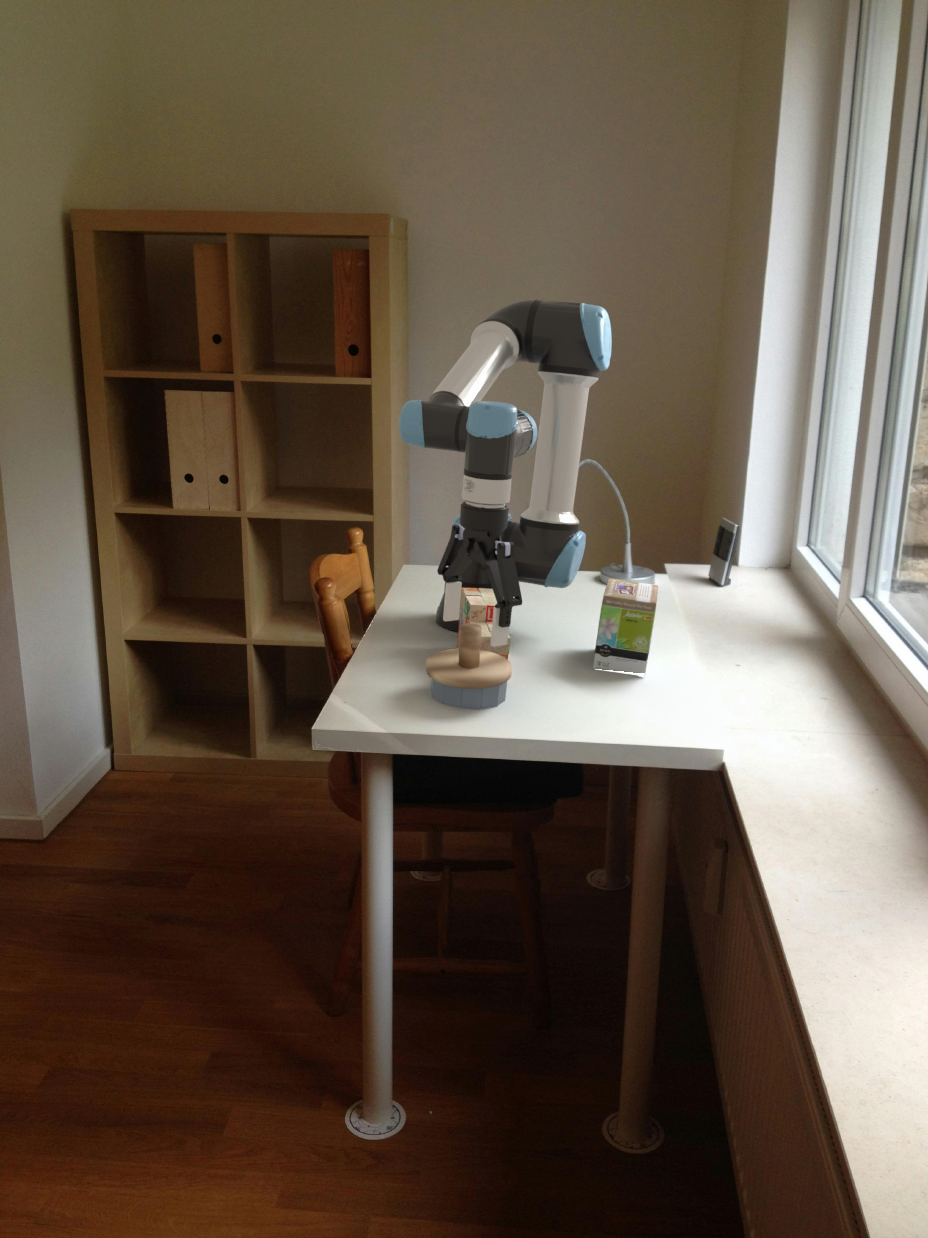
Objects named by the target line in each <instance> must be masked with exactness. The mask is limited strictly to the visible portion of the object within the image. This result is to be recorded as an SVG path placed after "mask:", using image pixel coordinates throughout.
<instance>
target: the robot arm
mask: <svg viewBox="0 0 928 1238" xmlns="http://www.w3.org/2000/svg"><path fill="white" fill-rule="evenodd" d="M612 346H613V345H612V326H611V320H610V316H609V313H608V311H607V310H606V309H605V308H604V307H602V306H600V305H596V304H589V303H585V302H567V301H566V302H565V301H554V300H539V299H523V300H518V301H514V302H512V303H510V304H507V305H504V306H503V307H501V308H498V309H497V310H495V311H493V312H492V313H490V314H489V315H488V316H486V317H484V319H483V320H481V321H480V322H479V323H478V325H477V326H476V327H475V329H474V330H473V332H472V333H471V336H470V344H469V345H468V346H467V348H466V349H465V351H464V352H463V353H462V355H460V357H459V358H458V360H457V361H456V362H455V364H454V365H453V366H452V367H451V369H450V370H449V371H448V373H447V374H446V376H445V377H443V379H442V380H441V382H440V383H439V384H438V386H436V388H435V390H434V391H433V392H432V394H431V395H430V396H429V397H428V398H427V399H426V400H422V399H418V400H416V399H415V400H414V399H412V400H407V401H406V402H405V403H404V405H403V406H402V408H401V411H400V413H399V414H400V415H399V419H398V427H399V429H398V430H399V435H400V438H401V440H402V442H403V443H405V445H409V446H414V447H419V448H423V449H431V450H439V451H449V452H450V451H452V452H459V453H464V462H463V480H462V481H463V482H462V492H461V498H462V499H463V500H464V501H462V503H461V504H460V510H459V511H460V513H459V514H458V515H457V516H456V517H455V518H454V519H453V522H452V527H451V533H450V537H449V540H448V542H447V545H446V548H445V550H444V553H443V554H442V557H441V560H440V562H439V565H438V567H437V571H436V572H437V575H439V576H442V579H443V581H444V591H443V595H442V597H441V600H440V602H439V604H438V605H439V606H437V609H436V613H435V615H436V616H435V622H436V623H437V624H438V626H441V627H442V628H445V629H448V630H449V631H450V630H451V631H455V632H458V630H459V619H460V618H459V612H460V601H461V588H477V589H478V588H486V589H493V592H494V595H495V598H496V601H497V604H496V605H495V606H494V611H493V621H492V632H491V643H490V645H491V646H493V647H495V646H502V645H507V639H508V634H509V628H510V626H511V624H512V622H511V620H512V611H513V608H514V607H517V606H518V607H519V606H521V605H523V596H522V591H521V588H520V587H521V586H520V583H526V584H532V585H537V586H543V587H544V588H557V589H558V588H559V589H563V588H564V589H565V588H567V587H569V586H571V584H572V583H573V582H574V580H575V579H576V576H577V574H578V572H579V569H580V567H581V563H582V561H583V556H584V554H585V553H584V552H585V549H586V541H587V540H586V539H587V534H586V533H585V532H584V531H582V530H579V528H580V520H579V519H578V518H577V516H576V515H575V514H574V506H575V505H574V504H575V497H576V493H577V492H576V491H577V490H576V489H577V483H578V476H579V470H580V469H579V468H580V467H579V466H580V461H581V453H582V445H583V438H584V430H585V429H584V428H585V424H586V416H587V415H586V414H587V407H588V399H589V391H590V388H591V387H592V386H593V385H594V384H595V383H597V382H598V381H599V378H600V371H601V372H603V371H606V370H608V369H609V367H610V361H611V357H612ZM518 362H519V363H532V364H538V368H537V369H538V370H537V374H538V375H539V377H540V378H541V380H542V381H543V383H544V386H543V392H542V402H541V410H540V417H539V427H538V426H537V423H536V421H535V419H534V418H533V417H532V416H531V415H530V414H529V413H528V412H526V411H524V410H521V409H518V408H517V406H516V405H514V404H512V403H508V402H503V401H502V402H501V401H494V400H493V401H490V400H489V401H488V400H487V401H486V400H483V399H484V397H485V396H486V394H487V393H488V392H489V390H490V389H491V387H492V386H493V384H494V383H495V381H496V380H498V377H499V375H500V374H501V373H502V372H503V370H506V369H508V368H510V367H511V366H513V365H514V363H518ZM537 427H538V428H537ZM535 443H537V444H536V451H535V452H536V453H535V459H534V467H533V474H532V475H533V476H532V483H531V492H530V501H529V506H528V508H527V509H526V510H525V511H523V512H522V513H521V514H520V517H519V518H520V519H519V522H515V521H512V520H513V518H512V515H511V513H509V509H510V508H509V506H508V505H507V504H509V503H510V502H511V492H512V480H513V479H512V476H513V466H514V458H518V457H522V456H524V455H525V454H526V453H528V451H529V450H531V449H532V448H533V446H534V445H535Z"/></svg>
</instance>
